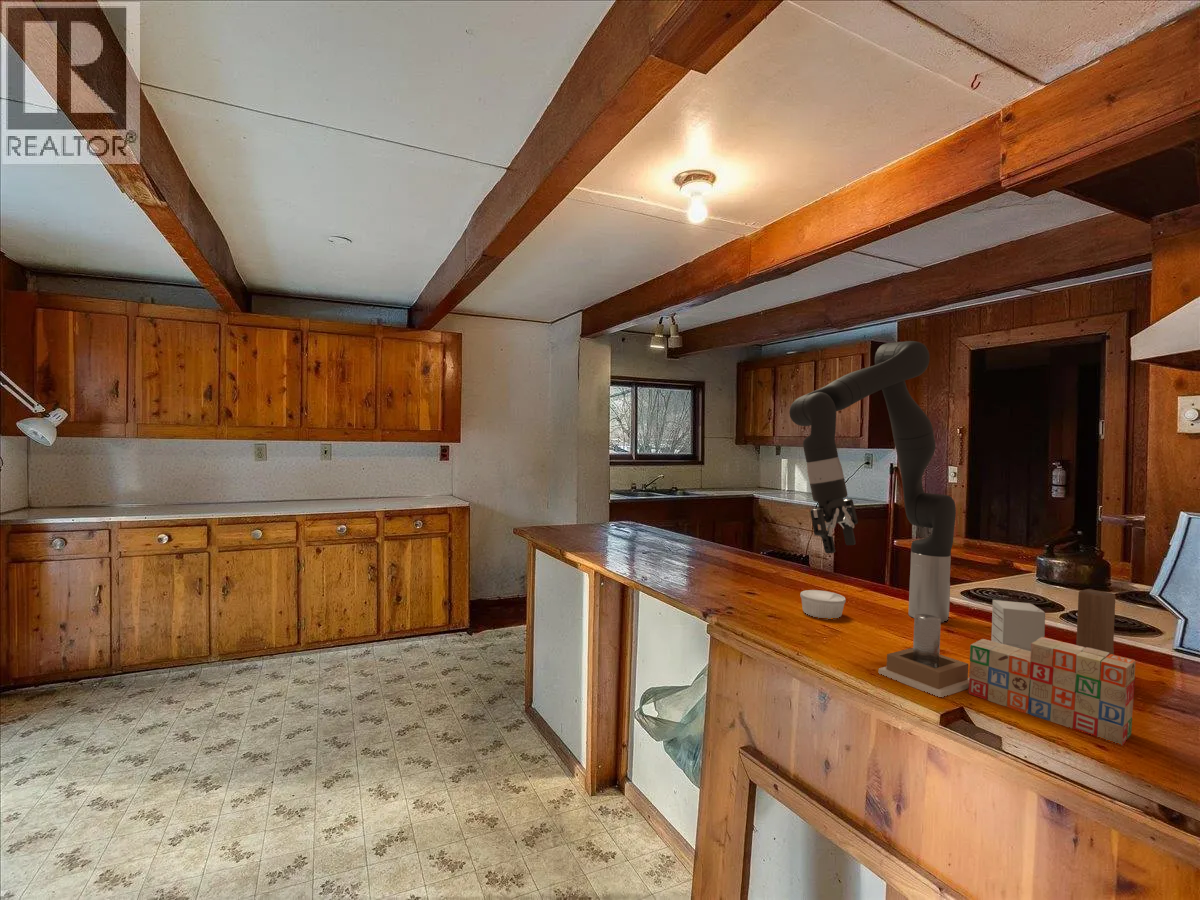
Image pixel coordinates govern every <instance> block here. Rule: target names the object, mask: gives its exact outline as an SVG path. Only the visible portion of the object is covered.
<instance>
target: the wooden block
mask: <svg viewBox="0 0 1200 900" xmlns="http://www.w3.org/2000/svg"><path fill="white" fill-rule="evenodd" d="M1077 595H1078V596H1077V597H1078V601H1077V619H1076V620H1077V622H1076V623H1077V625H1076V644H1075V645H1078V646H1082V647H1085V648H1086V647H1088V648H1093V649H1097V650H1101V651H1105V652H1109V653H1110V654H1113V655H1115V651H1114V641H1115V640H1114V639H1115V638H1114V637H1115V613H1116V594H1115V593H1113V592H1107V591H1101V590H1095V589H1091V588H1087V589H1086V588H1085V589H1083V590H1079V591H1078V594H1077Z"/></svg>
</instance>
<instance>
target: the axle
mask: <svg viewBox="0 0 1200 900" xmlns="http://www.w3.org/2000/svg"><path fill="white" fill-rule="evenodd" d="M913 619H914V620H913V622H914V623H913V643H912V644H913V645H912V648H913V661H916V662H919V663H921V664H924V665H927V666H930V667H933V668H938V667H939V654H940V651H941V650H940V649H941V628H942V627H941V624H942V622H941V619H940V618H938V617H936V616H932V615H926V614H915V616H914V618H913Z"/></svg>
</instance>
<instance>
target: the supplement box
mask: <svg viewBox="0 0 1200 900" xmlns="http://www.w3.org/2000/svg"><path fill="white" fill-rule="evenodd" d="M991 612H992V616H991V637H990V638H991V640H990V641H993V642H997V643H1000V644H1005V645H1009V646H1013V647H1016V648H1020V649H1023V650H1027V651H1031V643H1033V642H1035V641H1036V640H1038V639H1039V638H1041V637H1044V638H1045V634H1046V633H1045V631H1046V630H1045V629H1046V612H1045V611H1044V610H1043V609H1041V608H1040V607H1037V606H1036V605H1034V604H1033V603H1031V602H1030V603H1029V602H1020V601H1019V602H1018V601H1010V600H1009V601H1008V600H1000V599H999V600H998V599H992V611H991Z"/></svg>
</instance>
